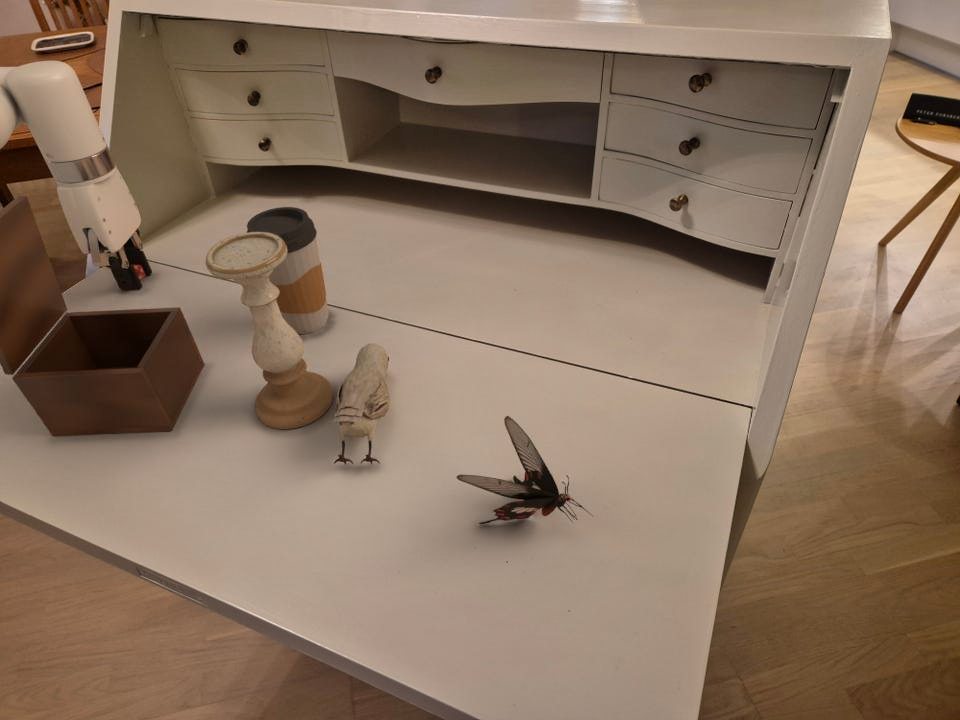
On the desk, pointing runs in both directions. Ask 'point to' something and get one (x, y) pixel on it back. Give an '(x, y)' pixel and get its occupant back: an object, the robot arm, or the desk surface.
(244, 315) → the desk surface
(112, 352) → the keepsake box
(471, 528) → the desk surface
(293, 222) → the coffee cup
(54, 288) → the lid
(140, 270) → the die
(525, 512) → the butterfly
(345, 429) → the decorative bird
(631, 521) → the desk surface
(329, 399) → the candle holder
